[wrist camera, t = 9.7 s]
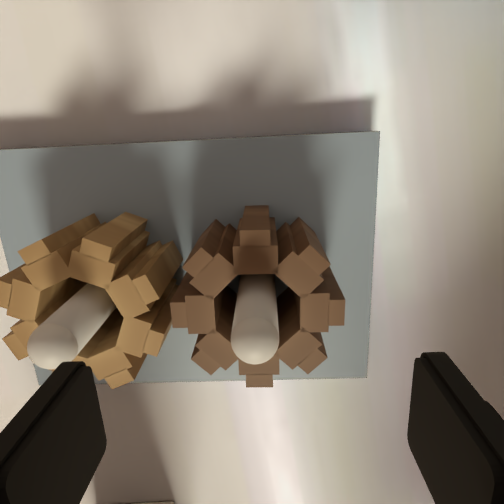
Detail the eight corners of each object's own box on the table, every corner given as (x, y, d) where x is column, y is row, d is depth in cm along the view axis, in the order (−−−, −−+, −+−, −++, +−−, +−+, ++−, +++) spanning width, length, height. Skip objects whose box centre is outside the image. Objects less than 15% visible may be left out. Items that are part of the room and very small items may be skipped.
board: (371, 131, 20) (460, 133, 11) (360, 362, 24) (418, 501, 15) (-3, 149, 21) (-206, 166, 12) (52, 370, 25) (-67, 506, 16)
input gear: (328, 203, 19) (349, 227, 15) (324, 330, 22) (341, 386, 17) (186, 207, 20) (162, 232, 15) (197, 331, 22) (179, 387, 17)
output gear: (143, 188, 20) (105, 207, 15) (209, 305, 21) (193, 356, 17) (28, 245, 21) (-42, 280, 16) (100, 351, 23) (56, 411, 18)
